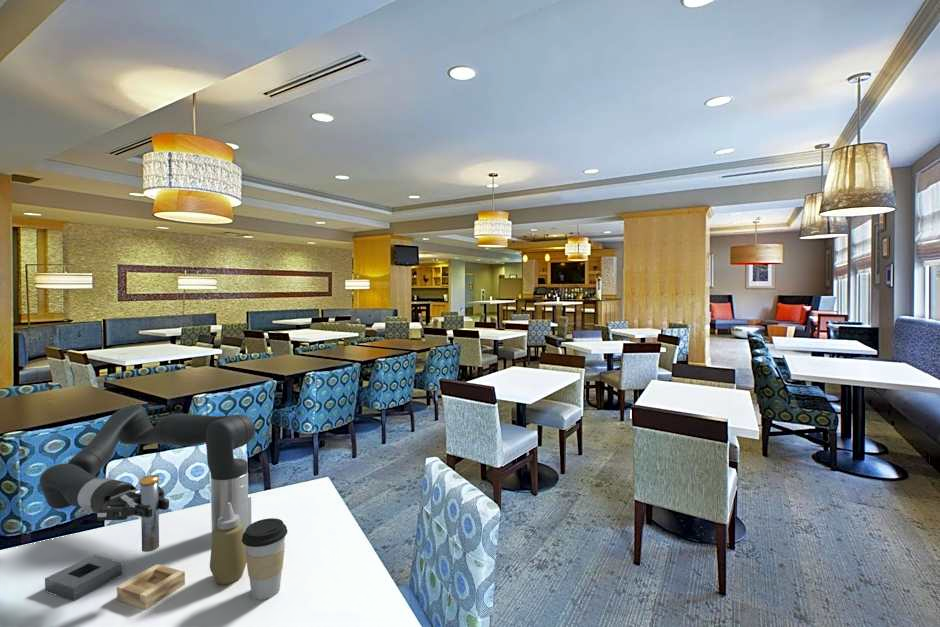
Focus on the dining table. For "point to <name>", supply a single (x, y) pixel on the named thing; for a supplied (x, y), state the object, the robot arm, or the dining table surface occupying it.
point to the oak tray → (150, 586)
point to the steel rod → (152, 523)
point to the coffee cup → (265, 556)
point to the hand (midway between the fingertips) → (158, 508)
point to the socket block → (83, 577)
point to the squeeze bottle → (228, 548)
